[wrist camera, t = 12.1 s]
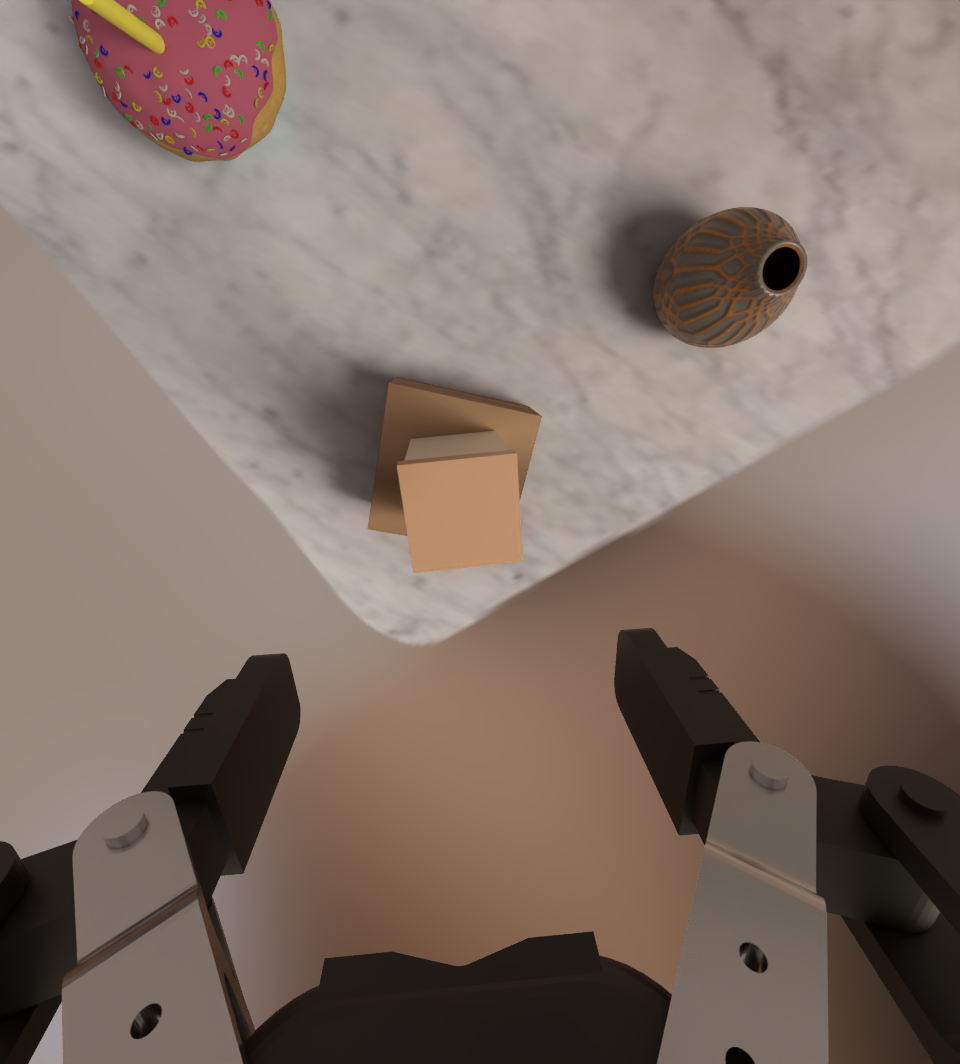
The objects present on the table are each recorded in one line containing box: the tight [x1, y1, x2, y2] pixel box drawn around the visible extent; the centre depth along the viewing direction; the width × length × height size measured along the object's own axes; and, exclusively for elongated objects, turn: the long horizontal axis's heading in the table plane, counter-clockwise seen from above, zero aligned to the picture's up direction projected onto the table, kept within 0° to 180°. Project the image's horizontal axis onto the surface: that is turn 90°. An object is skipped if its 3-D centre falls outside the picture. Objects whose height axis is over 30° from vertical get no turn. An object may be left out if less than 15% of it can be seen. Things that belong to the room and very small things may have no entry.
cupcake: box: [68, 0, 286, 162], centre depth 19 cm, size 9×8×12 cm
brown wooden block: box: [368, 377, 542, 536], centre depth 31 cm, size 9×9×5 cm
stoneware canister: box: [397, 431, 523, 573], centre depth 25 cm, size 5×5×7 cm
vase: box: [654, 207, 807, 348], centre depth 26 cm, size 7×7×9 cm
